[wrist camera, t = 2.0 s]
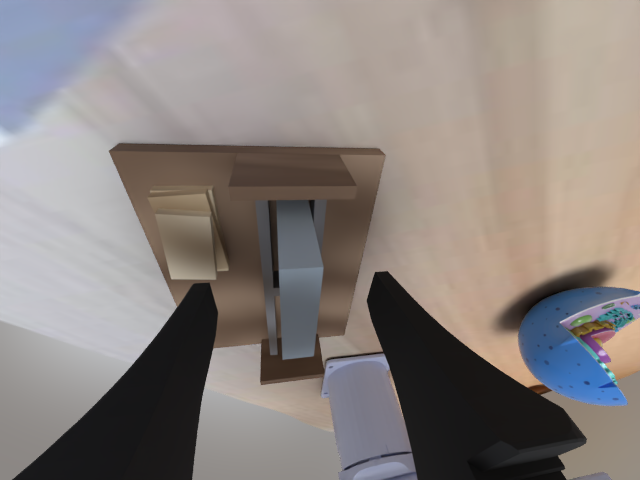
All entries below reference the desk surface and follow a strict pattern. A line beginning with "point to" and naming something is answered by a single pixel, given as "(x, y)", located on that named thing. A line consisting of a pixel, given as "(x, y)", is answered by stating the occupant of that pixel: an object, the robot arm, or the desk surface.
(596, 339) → the cell model
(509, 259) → the desk surface
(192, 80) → the desk surface
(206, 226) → the offcut stack
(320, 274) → the slate board
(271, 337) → the board with sliding block
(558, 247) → the desk surface
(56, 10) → the desk surface
